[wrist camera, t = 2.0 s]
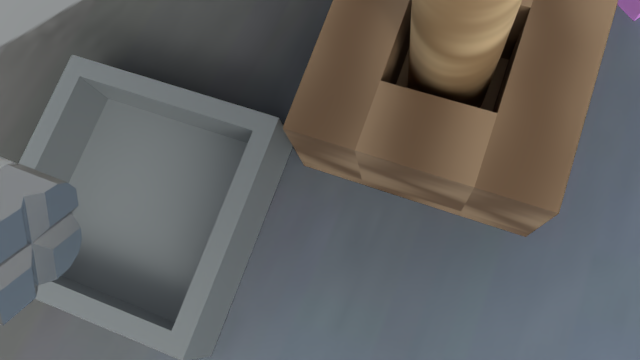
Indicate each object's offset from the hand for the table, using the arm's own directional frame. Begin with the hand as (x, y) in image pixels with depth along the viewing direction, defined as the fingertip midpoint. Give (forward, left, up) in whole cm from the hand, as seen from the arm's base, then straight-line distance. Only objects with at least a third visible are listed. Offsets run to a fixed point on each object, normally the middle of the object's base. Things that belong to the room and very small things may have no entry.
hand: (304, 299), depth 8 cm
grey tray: (+13, -1, -20) cm, 24 cm away
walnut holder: (0, -12, -20) cm, 24 cm away
